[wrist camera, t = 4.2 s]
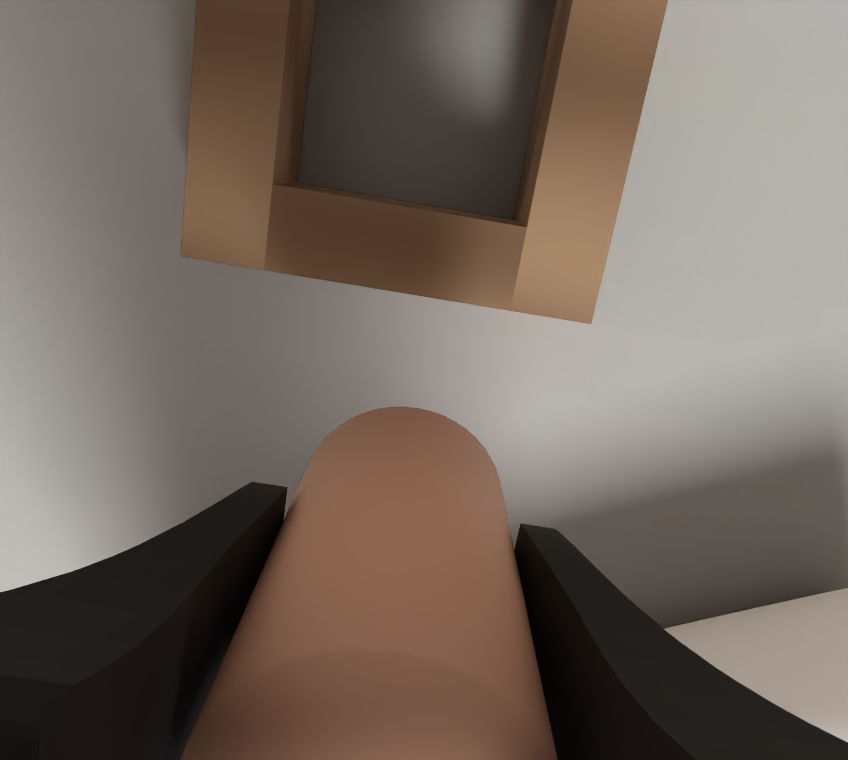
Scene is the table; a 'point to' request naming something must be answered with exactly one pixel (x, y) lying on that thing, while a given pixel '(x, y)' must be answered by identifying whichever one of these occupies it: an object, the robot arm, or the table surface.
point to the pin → (384, 612)
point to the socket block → (404, 221)
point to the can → (784, 654)
